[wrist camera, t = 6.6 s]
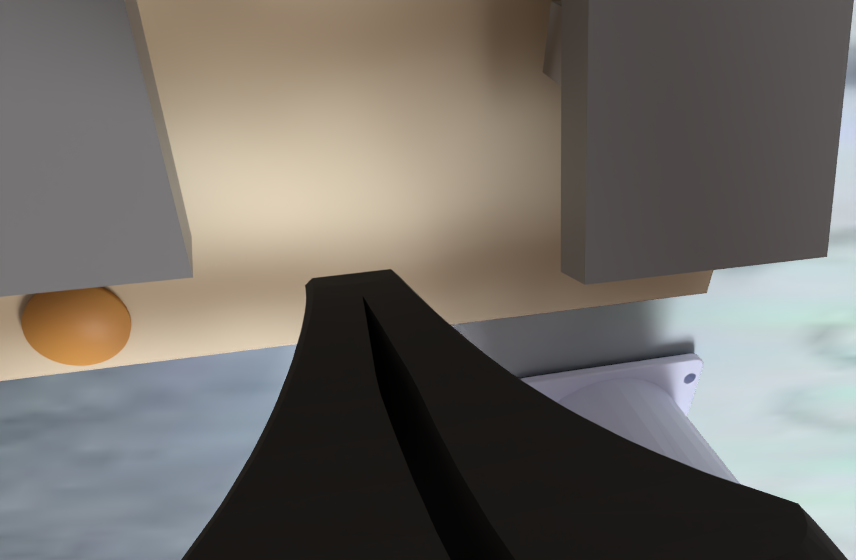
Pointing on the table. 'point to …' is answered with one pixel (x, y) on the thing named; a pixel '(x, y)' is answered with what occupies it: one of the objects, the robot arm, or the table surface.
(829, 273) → the table surface
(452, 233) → the switch panel
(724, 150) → the rocker
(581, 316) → the table surface
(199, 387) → the table surface
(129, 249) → the rocker
